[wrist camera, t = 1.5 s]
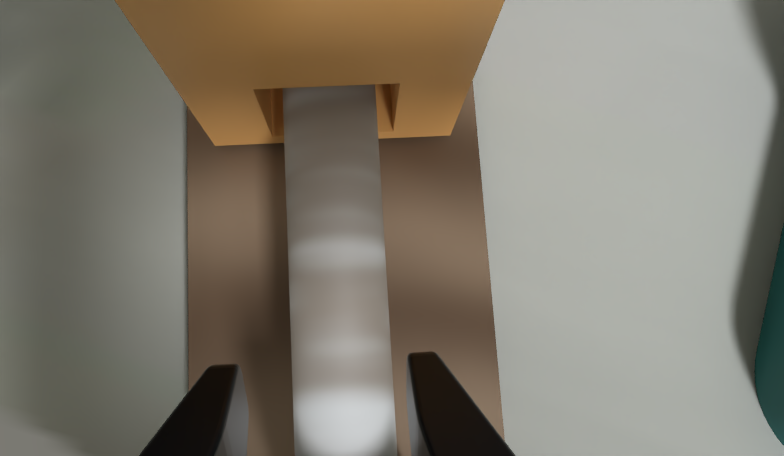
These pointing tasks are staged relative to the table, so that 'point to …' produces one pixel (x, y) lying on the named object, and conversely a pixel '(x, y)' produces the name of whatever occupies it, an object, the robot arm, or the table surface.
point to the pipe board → (411, 265)
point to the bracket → (773, 351)
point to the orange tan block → (316, 58)
